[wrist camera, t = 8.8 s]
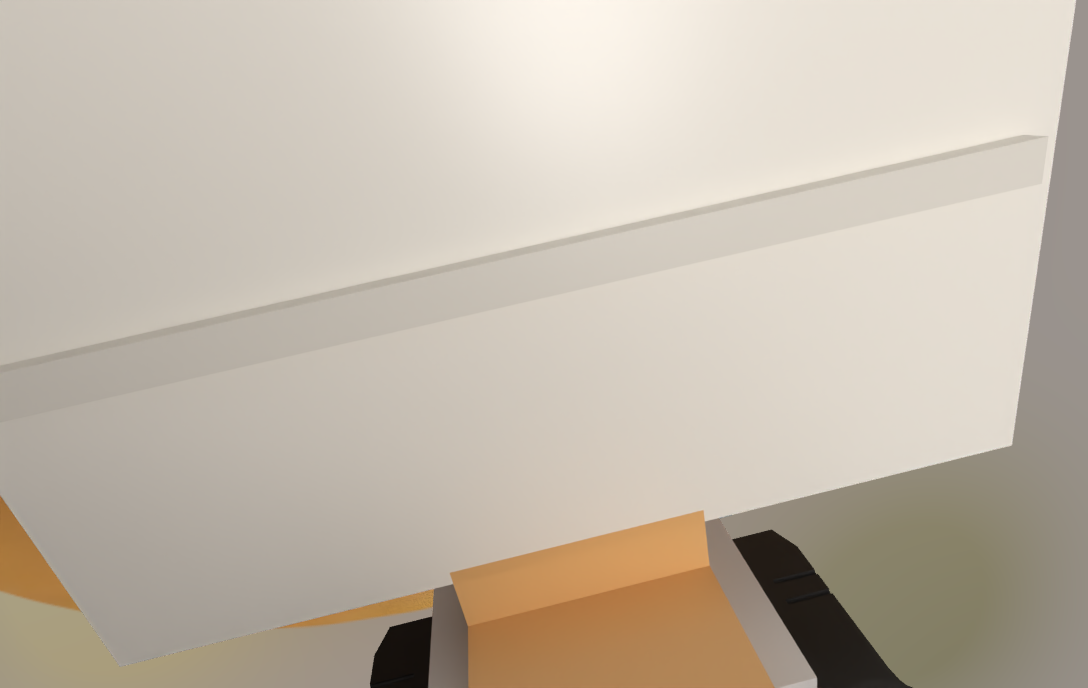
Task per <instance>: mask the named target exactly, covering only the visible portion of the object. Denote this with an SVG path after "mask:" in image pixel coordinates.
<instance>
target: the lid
mask: <svg viewBox="0 0 1088 688" xmlns="http://www.w3.org/2000/svg"><path fill="white" fill-rule="evenodd" d="M1075 4H1076V0H0V495H1V497H2V498H3V500H4V501H5V503H6V504H7V506H8V507H9V508H10V510H11V511H12V513H13V514H14V516H15V517H16V518H17V520H18V521H19V523H20V524H21V526H22V527H23V528H24V530H25V531H26V533H27V534H28V536H29V537H30V539H31V540H32V541H33V543H34V544H35V546H36V547H37V549H38V550H39V551H40V553H41V554H42V556H43V557H44V559H45V560H46V561H47V563H48V564H49V566H50V567H51V569H52V570H53V572H54V573H55V574H56V576H57V577H58V579H59V580H60V582H61V583H62V584H63V586H64V587H65V589H66V590H67V592H68V593H69V595H70V596H71V597H72V599H73V600H74V602H75V603H76V605H77V606H78V607H79V609H80V610H81V612H82V613H83V615H84V616H85V617H86V619H87V620H88V622H89V623H90V625H91V626H92V627H93V629H94V630H95V632H96V633H97V635H98V636H99V637H100V639H101V640H102V642H103V643H104V645H105V646H106V648H107V649H108V650H109V652H110V653H111V655H112V656H113V658H114V659H115V660H116V662H117V663H118V665H119V666H120V667H121V666H125V665H129V664H133V663H137V662H141V661H145V660H149V659H153V658H157V657H161V656H165V655H170V654H174V653H178V652H182V651H185V650H190V649H194V648H198V647H202V646H206V645H210V644H213V643H218V642H222V641H226V640H230V639H234V638H237V637H242V636H246V635H250V634H254V633H258V632H262V631H266V630H270V629H274V628H278V627H282V626H286V625H290V624H294V623H298V622H302V621H306V620H310V619H314V618H318V617H322V616H326V615H331V614H335V613H339V612H343V611H347V610H351V609H355V608H359V607H363V606H367V605H371V604H375V603H379V602H383V601H387V600H391V599H395V598H399V597H403V596H407V595H411V594H415V593H419V592H423V591H427V590H431V589H435V588H439V587H443V586H447V585H451V584H453V585H454V587H455V590H456V593H457V596H458V599H459V602H460V605H461V608H462V611H463V614H464V617H465V620H466V622H467V625H468V688H775V687H774V685H773V683H772V682H771V680H770V678H769V676H768V674H767V672H766V670H765V668H764V667H763V665H762V663H761V661H760V659H759V657H758V655H757V653H756V652H755V650H754V648H753V646H752V644H751V642H750V640H749V638H748V637H747V635H746V633H745V631H744V629H743V627H742V625H741V623H740V622H739V620H738V618H737V616H736V614H735V612H734V610H733V608H732V607H731V605H730V603H729V601H728V599H727V597H726V595H725V593H724V592H723V590H722V588H721V586H720V584H719V582H718V580H717V579H716V577H715V575H714V573H713V571H712V569H711V567H710V565H709V556H708V546H707V537H706V528H705V521H709V520H713V519H717V518H721V517H725V516H729V515H733V514H737V513H741V512H745V511H749V510H753V509H757V508H761V507H765V506H769V505H773V504H777V503H781V502H785V501H789V500H793V499H797V498H801V497H805V496H809V495H813V494H817V493H822V492H826V491H829V490H833V489H837V488H842V487H846V486H850V485H854V484H857V483H862V482H866V481H870V480H874V479H877V478H882V477H886V476H890V475H894V474H898V473H902V472H906V471H910V470H914V469H918V468H922V467H926V466H930V465H934V464H938V463H942V462H946V461H950V460H954V459H958V458H962V457H966V456H970V455H974V454H978V453H983V452H987V451H991V450H994V449H999V448H1003V447H1007V446H1010V445H1012V440H1013V433H1014V426H1015V419H1016V412H1017V405H1018V398H1019V391H1020V383H1021V378H1022V371H1023V364H1024V356H1025V349H1026V343H1027V336H1028V329H1029V322H1030V315H1031V308H1032V301H1033V294H1034V287H1035V281H1036V273H1037V266H1038V260H1039V253H1040V246H1041V239H1042V232H1043V225H1044V218H1045V211H1046V205H1047V198H1048V191H1049V183H1050V177H1051V170H1052V163H1053V156H1054V149H1055V142H1056V136H1057V129H1058V122H1059V115H1060V108H1061V100H1062V94H1063V87H1064V79H1065V73H1066V66H1067V59H1068V53H1069V46H1070V39H1071V31H1072V25H1073V17H1074V11H1075Z"/></svg>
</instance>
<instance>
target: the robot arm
mask: <svg viewBox="0 0 1088 688" xmlns="http://www.w3.org/2000/svg"><path fill="white" fill-rule="evenodd" d="M705 528H706V537H707V546H708V556H709V565H710V567H711V569H712V571H713V573H714V575H715V577H716V579H717V580H718V582H719V584H720V586H721V588H722V590H723V592H724V593H725V595H726V597H727V599H728V601H729V603H730V605H731V607H732V608H733V610H734V612H735V614H736V616H737V618H738V620H739V622H740V623H741V625H742V627H743V629H744V631H745V633H746V635H747V637H748V638H749V640H750V642H751V644H752V646H753V648H754V650H755V652H756V653H757V655H758V657H759V659H760V661H761V663H762V665H763V667H764V668H765V670H766V672H767V674H768V676H769V678H770V680H771V682H772V683H773V685H774V687H775V688H912V687H910V686H907V685H905V684H904V683H903V682H902V681H900V680H899V679H898V678H897V677H896V676H895V674H894V673H893V672H892V671H891V670H890V669H889V668H888V667H887V665H886V664H885V663H884V661H883V660H882V659H881V657H880V656H879V655H878V653H877V652H876V651H875V649H874V648H873V647H872V645H871V644H870V643H869V641H868V640H867V639H866V637H865V636H864V635H863V633H862V632H861V631H860V630H859V628H858V627H857V626H856V624H855V623H854V621H853V620H852V619H851V618H850V616H849V615H848V613H847V612H846V611H845V610H844V608H843V607H842V606H841V604H840V603H839V602H838V600H837V599H836V598H835V596H834V595H833V594H831V593H830V591H829V588H828V587H827V586H826V584H825V583H824V582H823V580H822V579H821V578H820V576H819V575H818V574H816V573H815V570H814V568H813V567H812V566H811V564H810V563H809V562H808V560H807V559H806V558H805V556H804V555H803V554H802V553H801V551H800V550H799V549H798V547H797V546H795V545H794V544H793V543H791V542H790V541H788V540H786V539H785V538H783V537H782V536H780V535H779V534H777V533H776V532H774V531H773V530H768V531H764V532H761V533H756V534H752V535H748V536H744V537H740V538H736V539H731V537H730V535H729V534H728V532H727V531H726V529H725V527H724V526H723V524H722V523H721V521H720V519H719V518H717V519H713V520H709V521H705ZM370 687H371V688H468V625H467V622H466V620H465V617H464V614H463V611H462V608H461V605H460V602H459V599H458V596H457V593H456V590H455V587H454V585H453V584H451V585H447V586H443V587H439V588H435V589H434V598H433V615H432V617H428V618H424V619H420V620H416V621H412V622H408V623H404V624H401V625H396V626H392V627H390V628H389V630H388V632H387V634H386V635H385V637H384V639H383V641H382V643H381V645H380V646H379V648H378V650H377V652H376V653H375V656H374V662H373V669H372V675H371V681H370Z"/></svg>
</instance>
